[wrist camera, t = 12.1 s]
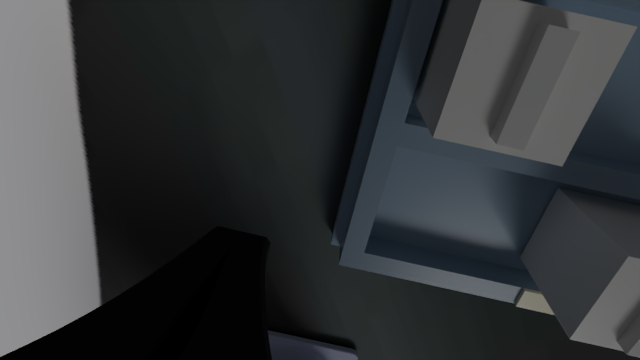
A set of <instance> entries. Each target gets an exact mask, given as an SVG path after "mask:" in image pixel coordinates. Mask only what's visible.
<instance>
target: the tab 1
mask: <svg viewBox="0 0 640 360" xmlns="http://www.w3.org/2000/svg"><path fill="white" fill-rule="evenodd" d="M636 29H637V26H632V25H628V24H623V23H619V22H614V21H610V20H605V19H601V18H596V17H592V16H587V15H583V14H578V13H574V12H569V11H565V10H560V9H556V8H551V7H547V6H542V5H538V4H533V3H529V2H524V1H520V0H443V1H442V5H441V8H440V11H439V14H438V18H437V21H436V24H435V27H434V30H433V34H432V37H431V40H430V43H429V46H428V50H427V53H426V56H425V59H424V62H423V66H422V69H421V72H420V75H419V78H418V82H417V85H416V88H415V91H414V94H413V100H414V102H415V104H416V106H417V108H418V110H419V112H420V114H421V116H422V118H423V120H424V121H425V123H426V125H427V127H428V129H429V131H430V133H431V135H432V137H433V138H436V139H440V140H445V141H449V142H454V143H458V144H463V145H467V146H472V147H476V148H481V149H485V150H490V151H495V152H499V153H504V154H508V155H513V156H517V157H522V158H526V159H531V160H535V161H540V162H544V163H549V164H553V165H558V166H563V164H564V162H565V161H566V159H567V157H568V155H569V153H570V151H571V149H572V148H573V146H574V144H575V142H576V140H577V138H578V136H579V135H580V133H581V131H582V129H583V127H584V125H585V123H586V122H587V120H588V118H589V116H590V114H591V112H592V110H593V109H594V107H595V105H596V103H597V101H598V99H599V97H600V96H601V94H602V92H603V90H604V88H605V86H606V84H607V83H608V81H609V79H610V77H611V75H612V73H613V71H614V70H615V68H616V66H617V64H618V62H619V60H620V58H621V57H622V55H623V53H624V51H625V49H626V47H627V45H628V44H629V42H630V40H631V38H632V36H633V34H634V32H635V31H636Z"/></svg>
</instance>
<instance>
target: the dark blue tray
mask: <svg viewBox="0 0 640 360" xmlns="http://www.w3.org/2000/svg"><path fill="white" fill-rule="evenodd" d="M442 1H443V0H392V2H391V6H390V10H389V14H388V17H387V21H386V25H385V29H384V33H383V37H382V41H381V45H380V49H379V52H378V56H377V60H376V64H375V68H374V72H373V76H372V80H371V84H370V87H369V91H368V95H367V99H366V103H365V107H364V111H363V115H362V119H361V123H360V126H359V130H358V134H357V138H356V142H355V146H354V150H353V154H352V158H351V161H350V165H349V169H348V173H347V177H346V181H345V185H344V189H343V193H342V196H341V200H340V204H339V208H338V212H337V216H336V220H335V224H334V228H333V231H332V238H331V244H332V245H337V246H340V255H339V265H342V266H347V267H351V268H356V269H361V270H365V271H370V272H374V273H379V274H383V275H388V276H392V277H397V278H401V279H406V280H410V281H415V282H419V283H424V284H429V285H433V286H438V287H442V288H447V289H451V290H456V291H460V292H465V293H469V294H474V295H478V296H483V297H488V298H492V299H497V300H501V301H506V302H510V303H514V304H515V306H516V307H521V308H525V309H530V310H534V311H539V312H543V313H548V314H552V315H555V314H554V313H553V311H552V309H551V308H550V306H549V305H548V303H547V301H546V300H545V298H544V296H543V295H542V293H541V291H540V290H539V288H538V286H537V285H536V283H535V281H534V280H533V278H532V277H531V275H530V273H529V272H528V270H527V268H526V267H525V265H524V263H523V262H522V260H521V258H520V256H521V254H522V253H523V251H524V249H525V247H526V245H527V243H528V242H529V240H530V238H531V236H532V234H533V232H534V231H535V229H536V227H537V225H538V223H539V222H540V220H541V218H542V216H543V214H544V212H545V211H546V209H547V207H548V205H549V203H550V201H551V200H552V198H553V196H554V194H555V192H556V191H557V189H558V188H562V189H567V190H571V191H576V192H580V193H585V194H589V195H594V196H598V197H603V198H607V199H612V200H616V201H621V202H625V203H630V204H634V205H639V206H640V0H520V1H524V2H529V3H533V4H538V5H542V6H547V7H551V8H556V9H560V10H565V11H569V12H574V13H578V14H583V15H587V16H592V17H596V18H601V19H605V20H610V21H614V22H619V23H623V24H628V25H632V26H637V29H636V31H635V32H634V34H633V36H632V38H631V40H630V42H629V44H628V45H627V47H626V49H625V51H624V53H623V55H622V57H621V58H620V60H619V62H618V64H617V66H616V68H615V70H614V71H613V73H612V75H611V77H610V79H609V81H608V83H607V84H606V86H605V88H604V90H603V92H602V94H601V96H600V97H599V99H598V101H597V103H596V105H595V107H594V109H593V110H592V112H591V114H590V116H589V118H588V120H587V122H586V123H585V125H584V127H583V129H582V131H581V133H580V135H579V136H578V138H577V140H576V142H575V144H574V146H573V148H572V149H571V151H570V153H569V155H568V157H567V159H566V161H565V162H564V164H563V166H558V165H553V164H549V163H544V162H540V161H535V160H531V159H526V158H522V157H517V156H513V155H508V154H504V153H499V152H495V151H490V150H485V149H481V148H476V147H472V146H467V145H463V144H458V143H454V142H449V141H445V140H440V139H436V138H433V137H432V135H431V133H430V131H429V129H428V127H427V125H426V123H425V121H424V120H423V118H422V116H421V114H420V112H419V110H418V108H417V106H416V104H415V102H414V100H413V94H414V91H415V88H416V85H417V82H418V78H419V75H420V72H421V69H422V66H423V62H424V59H425V56H426V53H427V50H428V46H429V43H430V40H431V37H432V34H433V30H434V27H435V24H436V21H437V18H438V14H439V11H440V8H441V5H442Z"/></svg>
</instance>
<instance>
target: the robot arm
mask: <svg viewBox="0 0 640 360" xmlns="http://www.w3.org/2000/svg"><path fill="white" fill-rule="evenodd" d="M269 247H270V241H269V240H268V239H267V237H262V236H258V235H254V234H249V233H245V232H241V231H237V230H232V229H228V228H224V227H220V226H217V227H215V228H214V229H212V230H211V231H210V232H208V233H207V234H206V235H204V236H203V237H202V238H201V239H199V240H198V241H197V242H195V243H194V244H193V245H192V246H190V247H189V248H188V249H186V250H185V251H183V252H182V253H181V254H179V255H178V256H177V257H175V258H174V259H172V260H171V261H170V262H168V263H167V264H165V265H164V266H163V267H161V268H160V269H158V270H157V271H155V272H154V273H153V274H151V275H150V276H148V277H147V278H145V279H144V280H142V281H140V282H139V283H137V284H136V285H134V286H132V287H131V288H129V289H128V290H126V291H125V292H123V293H121V294H120V295H118V296H117V297H115V298H113V299H112V300H110V301H108V302H107V303H105V304H103V305H102V306H100V307H98V308H96V309H95V310H93V311H91V312H90V313H88V314H86V315H84V316H82V317H80V318H79V319H77V320H75V321H73V322H71V323H69V324H67V325H66V326H64V327H62V328H60V329H58V330H56V331H54V332H52V333H50V334H48V335H46V336H44V337H42V338H40V339H38V340H36V341H34V342H32V343H29V344H28V345H25V346H23V347H21V348H19V349H17V350H15V351H12V352H10V353H8V354H6V355H4V356H2V357H0V360H358V353H357V351H355V350H354V349H351V348H347V347H342V346H337V345H333V344H328V343H324V342H319V341H315V340H310V339H306V338H301V337H297V336H292V335H287V334H283V333H278V332H274V331H269V330H268V327H267V318H266V307H265V268H266V263H267V257H268V252H269Z"/></svg>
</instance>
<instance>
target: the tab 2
mask: <svg viewBox="0 0 640 360" xmlns="http://www.w3.org/2000/svg"><path fill="white" fill-rule="evenodd" d="M520 258H521V260H522V262H523V263H524V265H525V267H526V268H527V270H528V272H529V273H530V275H531V277H532V278H533V280H534V281H535V283H536V285H537V286H538V288H539V290H540V291H541V293H542V295H543V296H544V298H545V300H546V301H547V303H548V305H549V306H550V308H551V309H552V311H553V313H554V314H555V316H556V318H557V319H558V321H559V323H560V324H561V326H562V328H563V329H564V331H565V332H566V334H567V336H568V337H569V339H571V340H575V341H580V342H584V343H589V344H594V345H598V346H603V347H607V348H612V349H616V350H621V351H624V352H625V353H626V354H627V355H630V356H635V357H639V358H640V206H639V205H634V204H630V203H625V202H621V201H616V200H612V199H607V198H603V197H598V196H594V195H589V194H585V193H580V192H576V191H571V190H567V189H562V188H558V189H557V191H556V192H555V194H554V196H553V198H552V200H551V201H550V203H549V205H548V207H547V209H546V211H545V212H544V214H543V216H542V218H541V220H540V222H539V223H538V225H537V227H536V229H535V231H534V232H533V234H532V236H531V238H530V240H529V242H528V243H527V245H526V247H525V249H524V251H523V253H522V254H521V256H520Z"/></svg>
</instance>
